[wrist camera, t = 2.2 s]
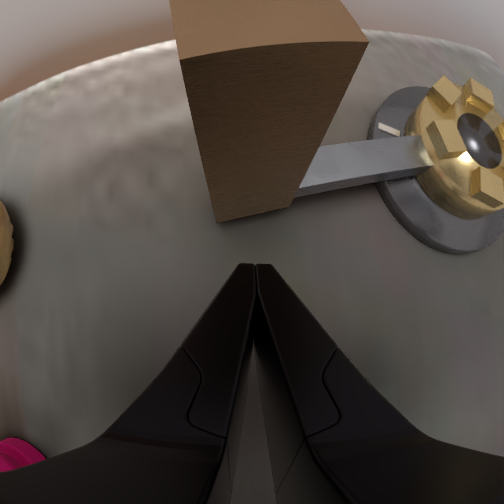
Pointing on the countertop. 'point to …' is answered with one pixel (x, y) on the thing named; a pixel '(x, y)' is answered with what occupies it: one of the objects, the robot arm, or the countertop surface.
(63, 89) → the countertop surface
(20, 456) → the pepper mill
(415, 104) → the flange
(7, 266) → the onion
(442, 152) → the crank handle
